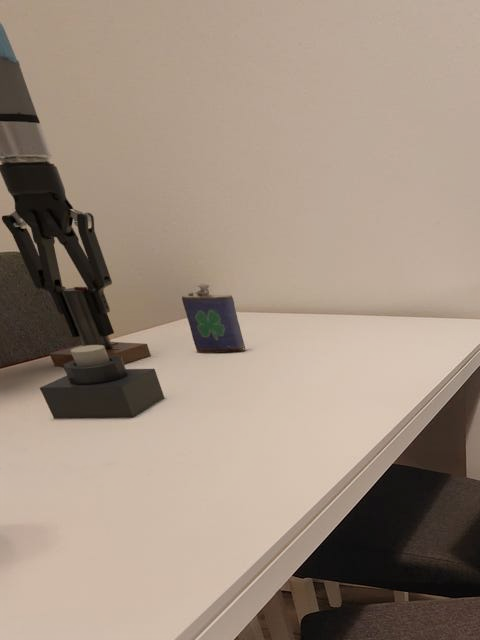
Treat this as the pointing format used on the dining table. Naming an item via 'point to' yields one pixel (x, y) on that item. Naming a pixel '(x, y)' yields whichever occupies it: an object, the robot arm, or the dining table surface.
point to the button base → (102, 391)
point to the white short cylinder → (90, 355)
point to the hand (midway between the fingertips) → (93, 334)
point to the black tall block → (84, 317)
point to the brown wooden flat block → (120, 349)
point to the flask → (213, 321)
